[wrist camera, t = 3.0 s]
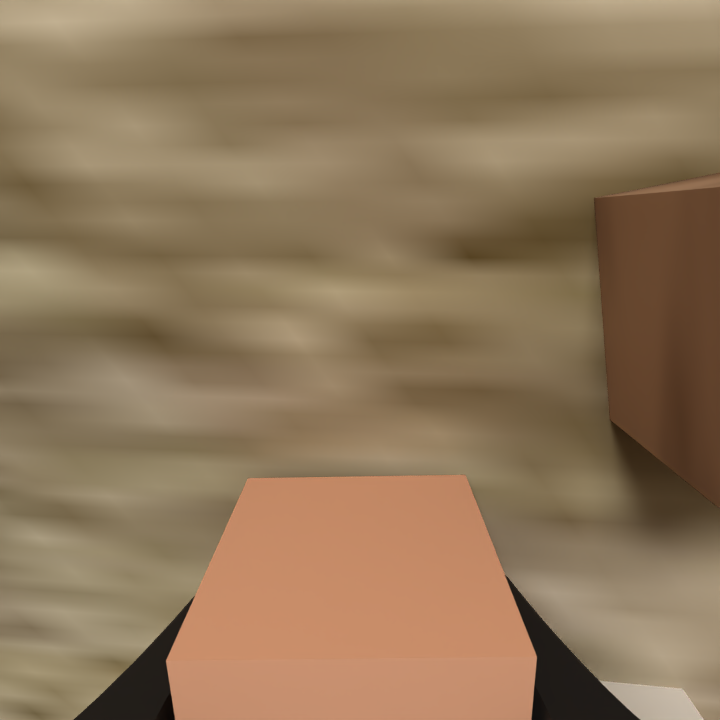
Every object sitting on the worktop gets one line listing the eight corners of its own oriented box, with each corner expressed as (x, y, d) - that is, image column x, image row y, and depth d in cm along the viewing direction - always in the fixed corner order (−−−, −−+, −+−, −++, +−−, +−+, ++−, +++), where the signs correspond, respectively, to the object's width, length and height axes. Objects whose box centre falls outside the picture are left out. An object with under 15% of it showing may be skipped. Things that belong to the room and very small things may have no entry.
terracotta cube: (465, 475, 12) (536, 656, 7) (458, 650, 13) (515, 907, 8) (248, 478, 12) (165, 660, 7) (263, 653, 13) (205, 908, 8)
